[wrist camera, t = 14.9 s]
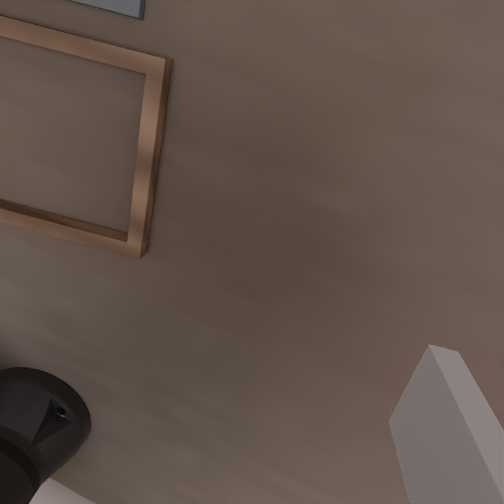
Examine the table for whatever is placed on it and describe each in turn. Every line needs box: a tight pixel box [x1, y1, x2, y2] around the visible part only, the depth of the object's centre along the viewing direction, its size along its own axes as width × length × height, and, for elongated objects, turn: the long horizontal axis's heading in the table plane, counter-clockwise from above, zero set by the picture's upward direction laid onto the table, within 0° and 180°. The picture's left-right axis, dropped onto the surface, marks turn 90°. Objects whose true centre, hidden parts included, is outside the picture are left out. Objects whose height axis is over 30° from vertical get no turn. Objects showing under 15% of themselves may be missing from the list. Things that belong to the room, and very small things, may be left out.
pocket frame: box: [0, 15, 173, 259], centre depth 38 cm, size 19×22×2 cm
